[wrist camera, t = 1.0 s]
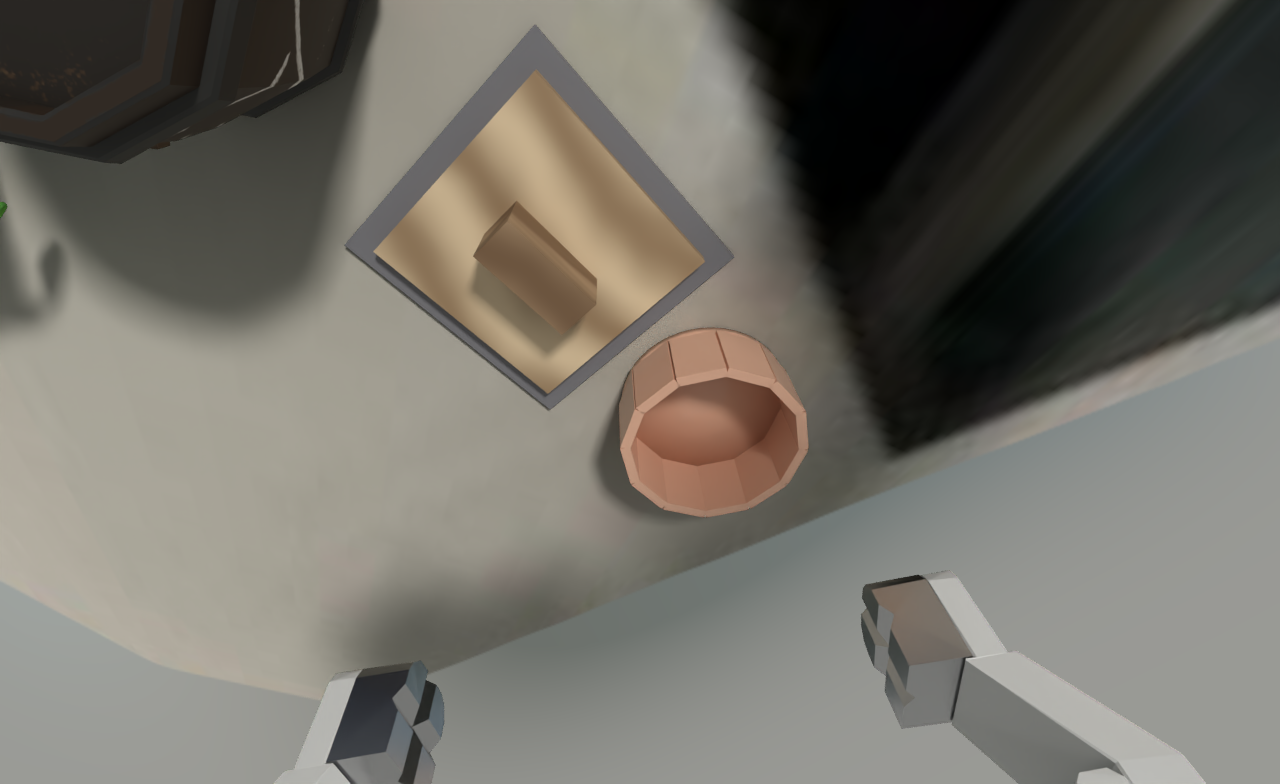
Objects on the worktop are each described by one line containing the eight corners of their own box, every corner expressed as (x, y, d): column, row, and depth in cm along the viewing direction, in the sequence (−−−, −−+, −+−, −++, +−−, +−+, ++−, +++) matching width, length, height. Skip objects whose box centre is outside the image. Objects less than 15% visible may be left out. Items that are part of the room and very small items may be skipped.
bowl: (717, 293, 42) (733, 333, 37) (817, 402, 48) (842, 450, 43) (586, 399, 46) (584, 448, 41) (692, 488, 52) (701, 540, 47)
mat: (535, 24, 33) (534, 24, 32) (733, 255, 40) (734, 257, 40) (346, 243, 39) (344, 245, 38) (550, 406, 47) (549, 409, 46)
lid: (536, 68, 33) (526, 79, 29) (703, 256, 40) (714, 286, 36) (378, 246, 38) (350, 276, 34) (549, 386, 45) (543, 426, 41)
